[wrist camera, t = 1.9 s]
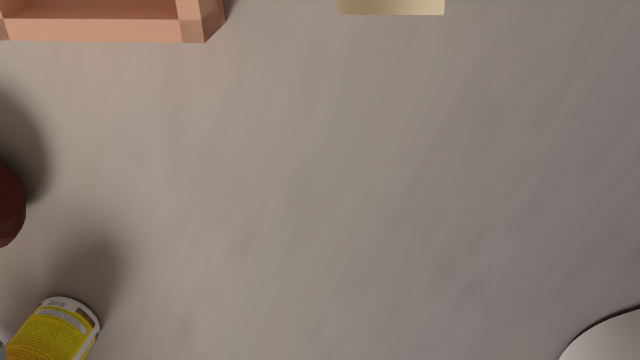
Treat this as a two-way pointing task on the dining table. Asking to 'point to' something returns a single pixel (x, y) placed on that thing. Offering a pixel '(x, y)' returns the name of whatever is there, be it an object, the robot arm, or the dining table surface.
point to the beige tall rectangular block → (390, 7)
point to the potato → (10, 206)
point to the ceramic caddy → (111, 20)
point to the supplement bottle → (55, 332)
